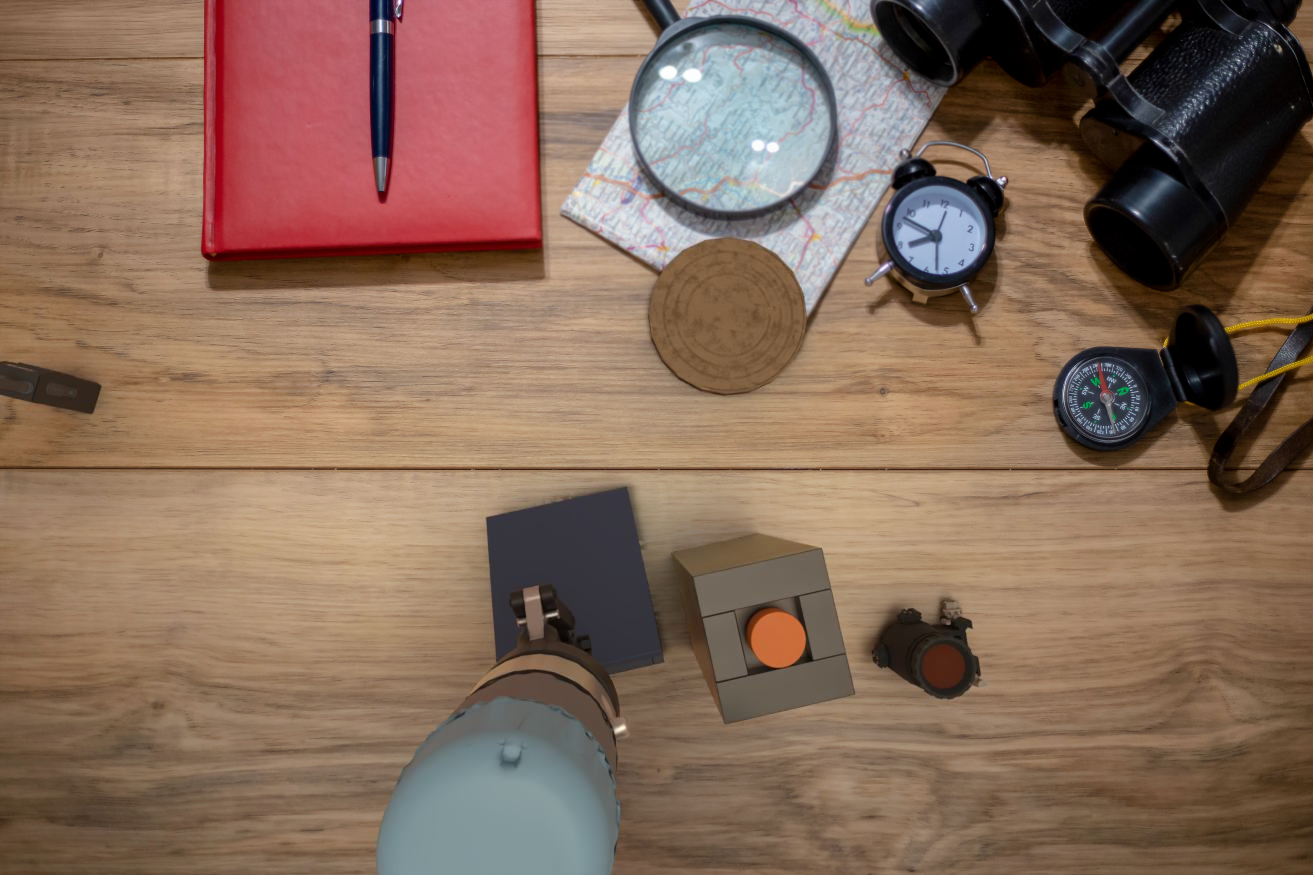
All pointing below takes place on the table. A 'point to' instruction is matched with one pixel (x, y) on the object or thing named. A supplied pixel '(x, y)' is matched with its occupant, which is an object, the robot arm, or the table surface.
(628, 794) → the table surface
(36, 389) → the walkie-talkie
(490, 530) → the lid
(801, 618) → the button post
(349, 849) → the table surface
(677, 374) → the brown round disc
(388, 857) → the robot arm
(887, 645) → the red dot sight
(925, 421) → the table surface
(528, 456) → the table surface
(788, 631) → the button
